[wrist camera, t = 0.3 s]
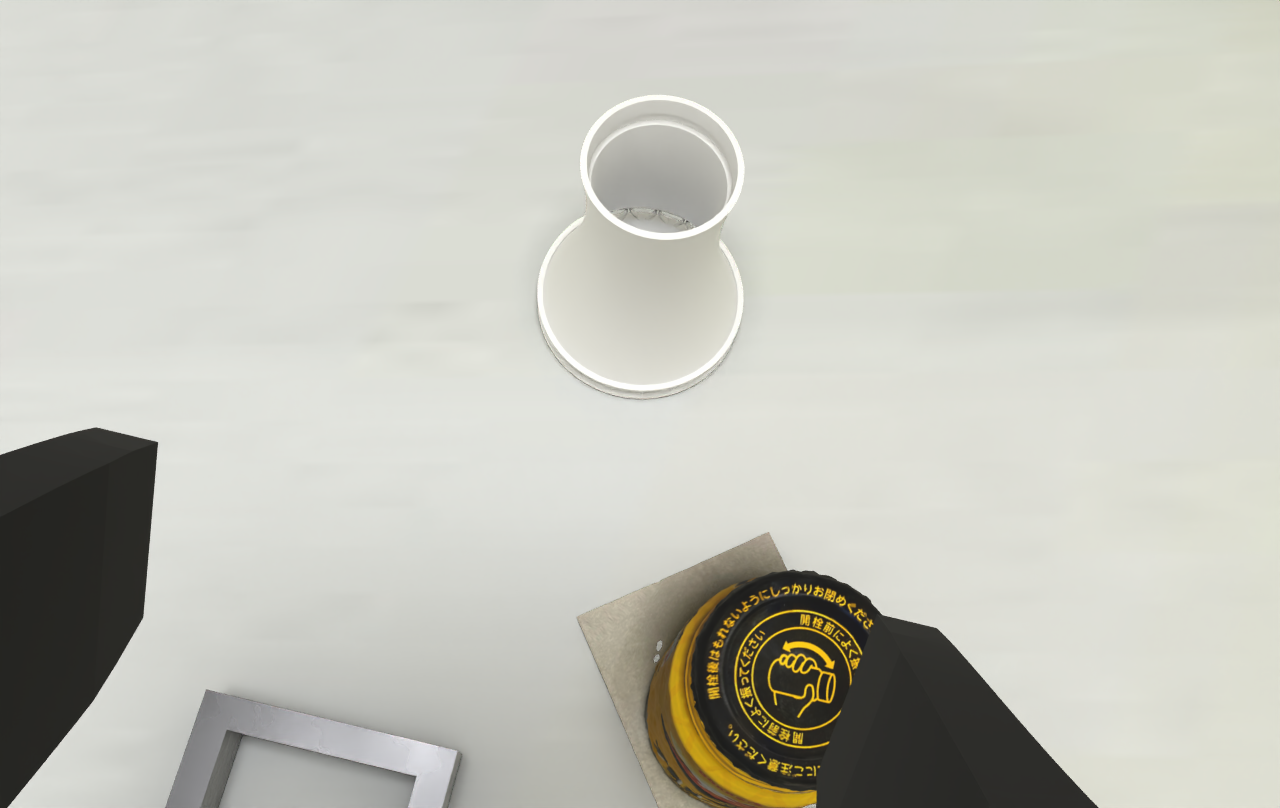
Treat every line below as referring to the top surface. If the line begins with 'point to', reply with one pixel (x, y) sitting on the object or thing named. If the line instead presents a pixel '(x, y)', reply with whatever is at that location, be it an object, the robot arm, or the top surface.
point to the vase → (647, 253)
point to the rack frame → (234, 716)
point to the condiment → (732, 676)
